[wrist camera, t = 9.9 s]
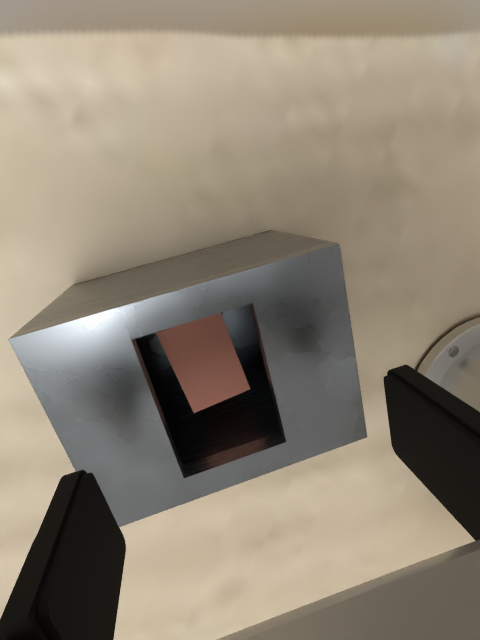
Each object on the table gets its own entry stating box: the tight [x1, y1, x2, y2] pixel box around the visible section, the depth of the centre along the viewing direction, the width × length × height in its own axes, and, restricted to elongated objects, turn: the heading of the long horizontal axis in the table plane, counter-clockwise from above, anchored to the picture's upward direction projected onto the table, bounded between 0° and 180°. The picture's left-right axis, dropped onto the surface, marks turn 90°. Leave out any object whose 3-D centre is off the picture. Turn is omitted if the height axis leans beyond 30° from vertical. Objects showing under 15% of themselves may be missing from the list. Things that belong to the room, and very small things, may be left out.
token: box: [156, 313, 250, 413], centre depth 19 cm, size 3×4×6 cm, turn 19°
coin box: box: [8, 230, 367, 527], centre depth 18 cm, size 12×9×9 cm
